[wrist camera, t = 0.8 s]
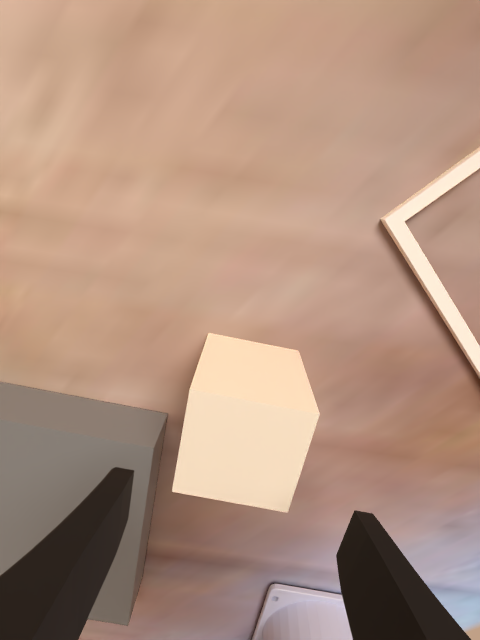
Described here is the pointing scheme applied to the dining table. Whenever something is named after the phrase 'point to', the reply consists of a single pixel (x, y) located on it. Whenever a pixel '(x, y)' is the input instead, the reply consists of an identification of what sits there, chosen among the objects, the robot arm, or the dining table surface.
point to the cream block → (246, 424)
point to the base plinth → (76, 478)
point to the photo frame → (419, 262)
